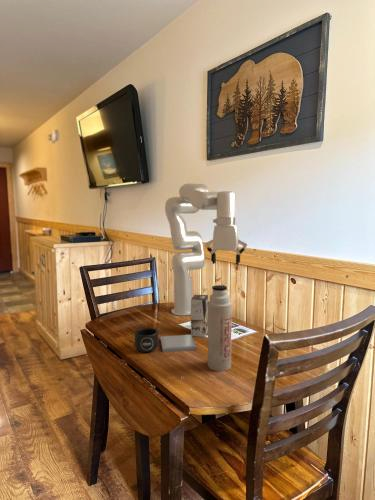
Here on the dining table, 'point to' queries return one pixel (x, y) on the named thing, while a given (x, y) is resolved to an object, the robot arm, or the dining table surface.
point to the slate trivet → (177, 343)
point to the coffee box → (199, 315)
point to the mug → (146, 339)
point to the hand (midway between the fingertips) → (225, 263)
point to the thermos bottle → (219, 329)
